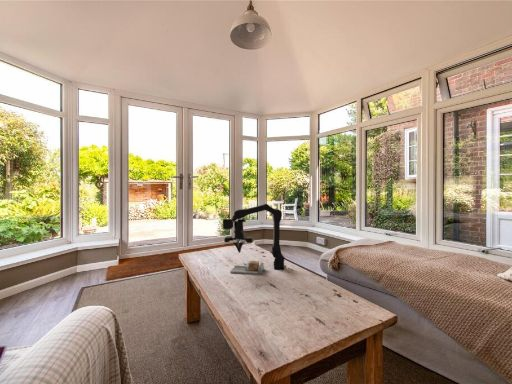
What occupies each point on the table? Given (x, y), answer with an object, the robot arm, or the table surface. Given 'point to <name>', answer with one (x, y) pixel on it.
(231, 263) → the table surface
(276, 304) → the table surface
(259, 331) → the table surface
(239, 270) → the base
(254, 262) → the block
